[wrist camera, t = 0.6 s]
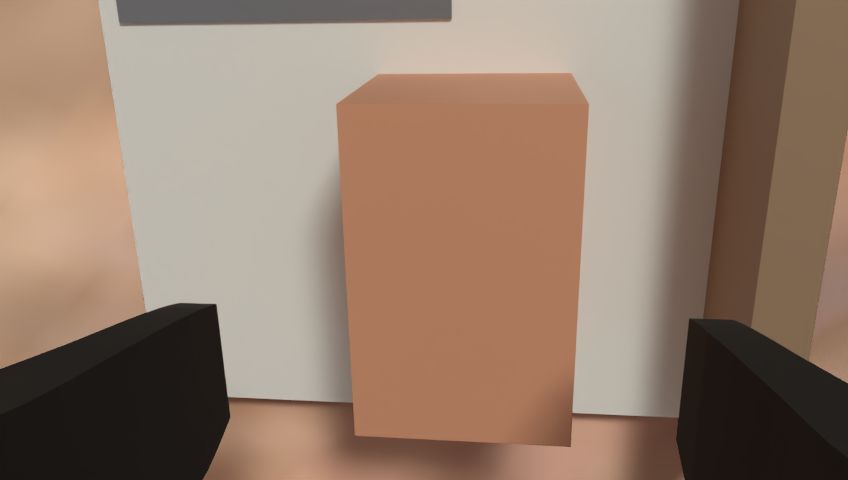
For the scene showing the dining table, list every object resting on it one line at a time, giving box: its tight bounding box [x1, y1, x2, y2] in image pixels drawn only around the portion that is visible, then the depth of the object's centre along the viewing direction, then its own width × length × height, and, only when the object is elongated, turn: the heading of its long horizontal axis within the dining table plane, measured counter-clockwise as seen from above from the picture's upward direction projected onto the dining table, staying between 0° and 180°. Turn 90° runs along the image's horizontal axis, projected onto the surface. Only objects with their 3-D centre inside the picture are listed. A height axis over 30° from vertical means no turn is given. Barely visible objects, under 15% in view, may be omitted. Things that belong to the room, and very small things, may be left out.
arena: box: [98, 0, 848, 418], centre depth 16 cm, size 16×20×4 cm
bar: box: [336, 73, 589, 447], centre depth 17 cm, size 7×4×4 cm, turn 1°
